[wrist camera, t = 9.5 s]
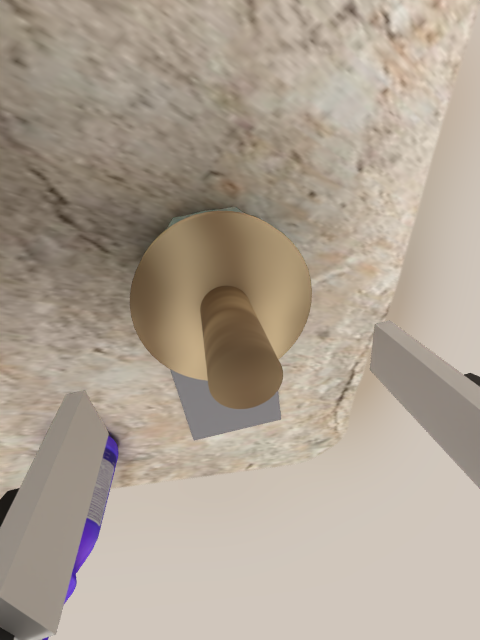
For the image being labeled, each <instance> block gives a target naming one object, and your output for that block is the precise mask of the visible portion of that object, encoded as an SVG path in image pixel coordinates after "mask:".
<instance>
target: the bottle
mask: <svg viewBox="0 0 480 640" xmlns="http://www.w3.org/2000/svg"><path fill="white" fill-rule="evenodd" d="M117 459H118V446H117V443H116V442H115V441H114V439H112V438H111V437H110V436H109V435H108V439H107V442H106V446H105V450H104V454H103V458H102V461H101V465H100V469H99V473H98V477H97V480H96V484H95V488H94V492H93V495H92V499H91V503H90V507H89V511H88V514H87V518H86V522H85V526H84V530H83V533H82V537H81V541H80V545H79V549H78V552H77V556H76V560H75V564H74V568H73V571H72V575H71V579H70V583H69V587H68V590H67V594H66V598H65V602H66V601H67V600H68V598H69V597H70V596H71V594H72V593H73V591H74V589H75V587H76V575H75V574H76V573H77V572H78V570H79V569H80V567H81V566H82V564H83V563H84V562H85V560H86V558H87V557H88V556H89V554H90V553H91V551H92V549H93V547H94V545H95V543H96V541H97V538H98V535H99V531H100V528H101V523H102V519H103V515H104V511H105V507H106V503H107V499H108V495H109V491H110V487H111V483H112V479H113V475H114V471H115V467H116V463H117ZM65 602H64V604H65ZM48 638H49V637H47V638H43V639H40V640H48ZM14 640H19V639H17V638H15V637H14Z"/></svg>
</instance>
